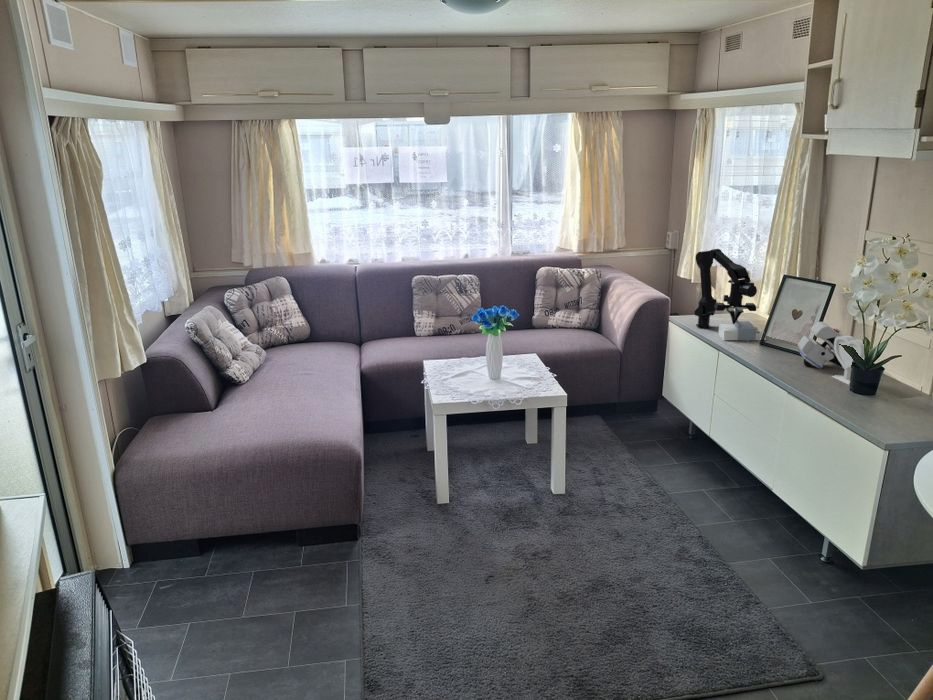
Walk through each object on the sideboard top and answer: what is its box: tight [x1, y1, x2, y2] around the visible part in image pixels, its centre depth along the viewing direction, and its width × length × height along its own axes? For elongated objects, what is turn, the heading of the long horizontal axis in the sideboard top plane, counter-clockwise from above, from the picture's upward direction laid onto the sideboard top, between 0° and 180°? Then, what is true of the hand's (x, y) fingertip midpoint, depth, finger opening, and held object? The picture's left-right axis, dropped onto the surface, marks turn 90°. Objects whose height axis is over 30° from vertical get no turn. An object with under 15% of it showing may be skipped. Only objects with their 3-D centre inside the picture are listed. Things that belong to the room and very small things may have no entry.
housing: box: [717, 323, 764, 341], centre depth 352 cm, size 12×20×5 cm, turn 83°
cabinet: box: [731, 319, 756, 342], centre depth 352 cm, size 14×8×8 cm, turn 173°
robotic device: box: [797, 321, 845, 370], centre depth 307 cm, size 10×21×20 cm
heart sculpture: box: [831, 335, 865, 386], centre depth 289 cm, size 16×5×18 cm, turn 12°
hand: (733, 323), depth 352 cm, fingers closed
